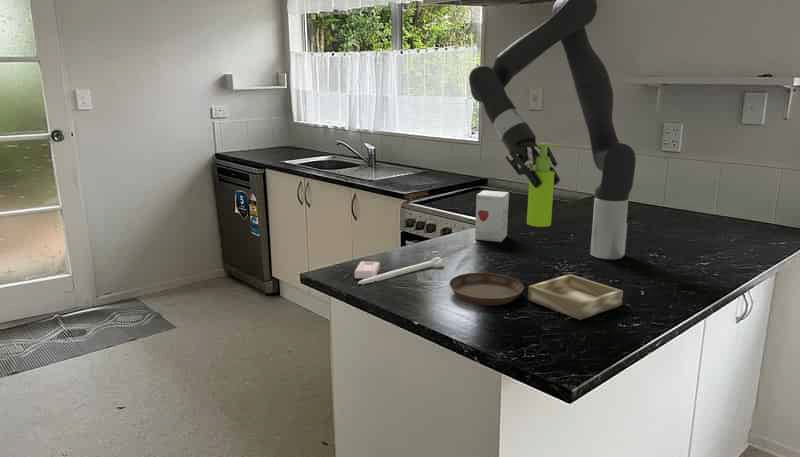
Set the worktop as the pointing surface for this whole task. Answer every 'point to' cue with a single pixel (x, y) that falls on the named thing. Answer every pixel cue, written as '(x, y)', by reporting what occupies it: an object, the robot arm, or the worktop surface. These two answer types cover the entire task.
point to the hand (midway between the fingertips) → (548, 184)
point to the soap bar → (367, 269)
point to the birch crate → (575, 296)
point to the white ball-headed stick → (404, 270)
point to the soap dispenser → (541, 190)
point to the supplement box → (491, 215)
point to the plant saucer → (486, 288)
